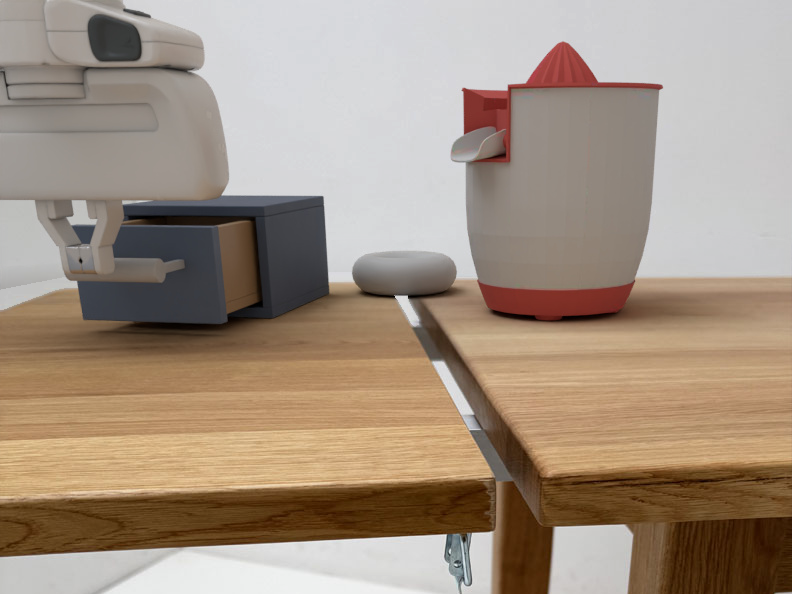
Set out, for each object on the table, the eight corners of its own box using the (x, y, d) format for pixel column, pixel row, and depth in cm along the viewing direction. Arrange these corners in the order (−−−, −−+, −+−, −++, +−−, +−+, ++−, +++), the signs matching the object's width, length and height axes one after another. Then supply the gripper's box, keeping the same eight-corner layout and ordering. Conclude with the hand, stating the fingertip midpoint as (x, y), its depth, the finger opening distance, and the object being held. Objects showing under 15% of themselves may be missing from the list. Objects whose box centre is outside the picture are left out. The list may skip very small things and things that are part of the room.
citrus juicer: (411, 309, 88) (403, 44, 80) (568, 292, 97) (577, 51, 88) (518, 335, 76) (523, 27, 68) (687, 313, 85) (710, 37, 76)
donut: (371, 284, 104) (337, 296, 95) (370, 248, 102) (336, 257, 93) (467, 287, 101) (442, 299, 93) (467, 250, 100) (441, 259, 91)
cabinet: (272, 318, 84) (263, 206, 80) (132, 314, 86) (117, 204, 83) (329, 293, 97) (323, 195, 93) (206, 290, 99) (195, 195, 96)
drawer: (192, 336, 72) (180, 233, 69) (45, 331, 74) (28, 231, 71) (286, 298, 88) (279, 213, 85) (164, 295, 90) (153, 212, 87)
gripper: (-130, 38, 62) (-77, 276, 68) (181, 29, 58) (208, 282, 64) (-61, 46, 68) (-18, 265, 74) (227, 38, 64) (248, 270, 70)
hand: (89, 273), depth 69 cm, fingers closed
